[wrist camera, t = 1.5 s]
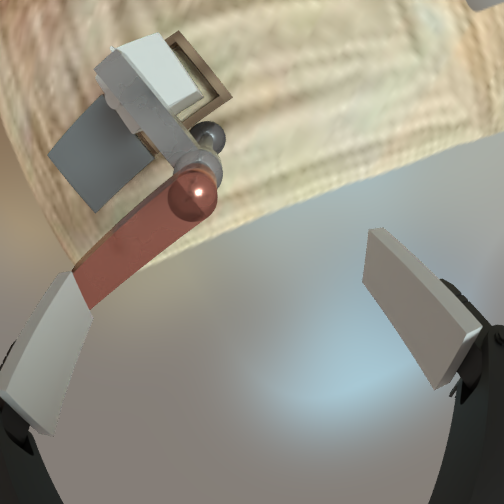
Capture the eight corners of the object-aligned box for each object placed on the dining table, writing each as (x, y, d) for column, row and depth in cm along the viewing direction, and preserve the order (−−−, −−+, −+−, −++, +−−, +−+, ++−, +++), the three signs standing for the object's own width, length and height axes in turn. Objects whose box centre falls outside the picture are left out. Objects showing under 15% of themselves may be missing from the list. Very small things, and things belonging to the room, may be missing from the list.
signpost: (107, 130, 34) (-26, 181, 10) (171, 76, 32) (92, 22, 8) (158, 191, 39) (92, 315, 16) (223, 141, 37) (239, 204, 14)
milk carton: (178, 58, 31) (149, 19, 15) (204, 97, 35) (194, 86, 18) (135, 87, 32) (75, 75, 16) (161, 125, 36) (118, 140, 19)
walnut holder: (110, 89, 32) (104, 89, 29) (180, 34, 29) (178, 30, 27) (160, 150, 37) (157, 153, 35) (231, 98, 35) (232, 97, 33)
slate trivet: (49, 154, 34) (47, 155, 34) (103, 94, 32) (101, 94, 31) (96, 212, 40) (95, 213, 39) (155, 158, 38) (154, 158, 37)
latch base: (181, 136, 37) (180, 136, 36) (211, 113, 36) (211, 114, 35) (203, 163, 39) (202, 165, 38) (232, 142, 38) (233, 143, 37)
